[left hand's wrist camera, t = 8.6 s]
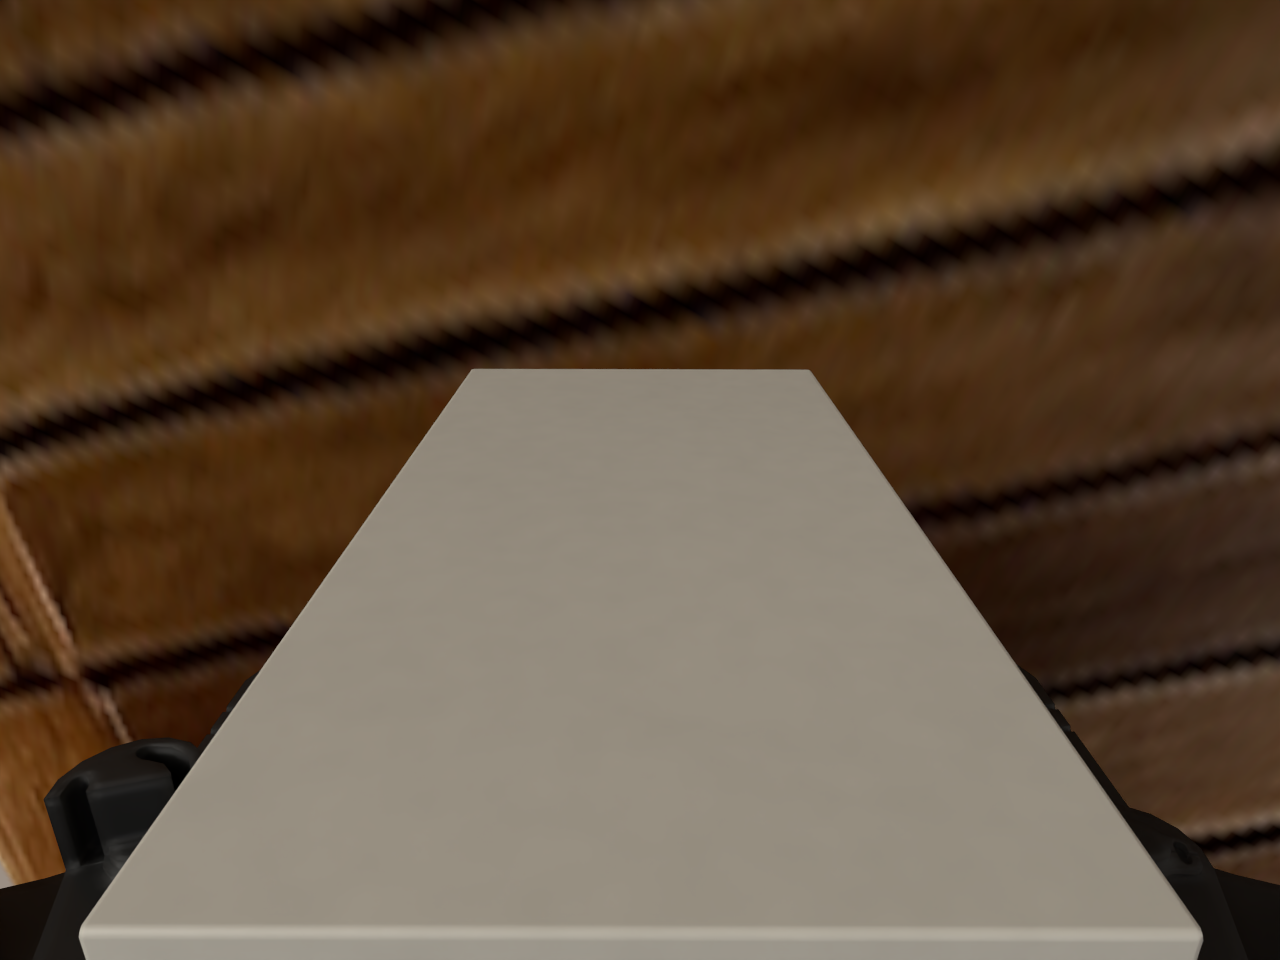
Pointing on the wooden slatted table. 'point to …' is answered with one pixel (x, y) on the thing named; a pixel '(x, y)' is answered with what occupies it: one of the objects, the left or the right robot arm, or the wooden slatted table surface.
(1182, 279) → the wooden slatted table surface
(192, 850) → the box
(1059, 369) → the wooden slatted table surface
